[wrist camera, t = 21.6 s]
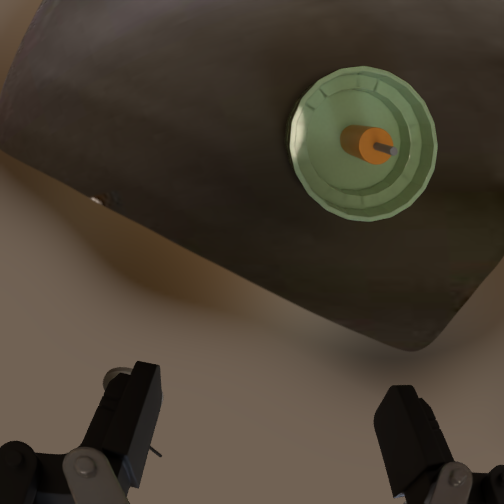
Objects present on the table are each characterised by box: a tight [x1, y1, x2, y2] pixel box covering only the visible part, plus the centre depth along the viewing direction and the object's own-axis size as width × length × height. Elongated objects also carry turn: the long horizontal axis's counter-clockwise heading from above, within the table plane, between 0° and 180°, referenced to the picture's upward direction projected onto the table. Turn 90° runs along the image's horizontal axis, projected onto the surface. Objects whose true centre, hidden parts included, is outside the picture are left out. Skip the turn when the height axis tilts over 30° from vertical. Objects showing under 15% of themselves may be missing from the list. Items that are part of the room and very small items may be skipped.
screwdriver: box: [340, 125, 398, 165], centre depth 28 cm, size 3×3×11 cm
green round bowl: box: [285, 66, 438, 222], centre depth 30 cm, size 15×15×6 cm
